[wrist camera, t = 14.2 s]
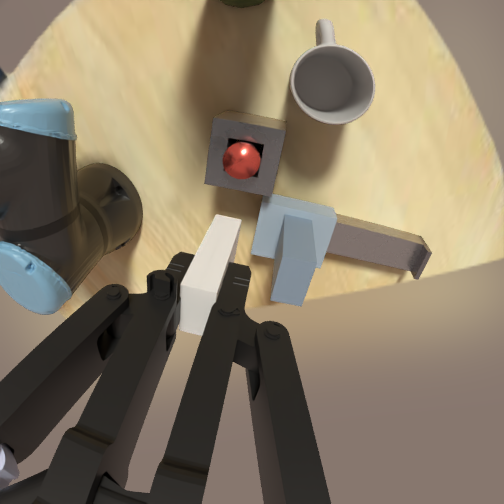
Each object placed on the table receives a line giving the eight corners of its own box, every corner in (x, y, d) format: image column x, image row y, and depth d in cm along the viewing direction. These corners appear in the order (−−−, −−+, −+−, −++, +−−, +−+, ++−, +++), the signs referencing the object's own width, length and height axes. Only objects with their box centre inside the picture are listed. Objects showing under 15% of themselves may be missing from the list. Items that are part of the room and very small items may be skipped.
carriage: (253, 240, 47) (240, 301, 35) (264, 191, 42) (253, 241, 31) (318, 254, 47) (325, 317, 35) (333, 207, 42) (349, 261, 31)
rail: (256, 227, 47) (253, 243, 43) (262, 197, 44) (259, 211, 40) (409, 261, 47) (418, 279, 43) (421, 236, 44) (431, 252, 40)
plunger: (233, 155, 41) (220, 175, 33) (238, 127, 39) (225, 140, 31) (262, 161, 41) (256, 182, 33) (268, 133, 39) (263, 147, 31)
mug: (355, 114, 36) (377, 126, 27) (291, 114, 38) (292, 126, 28) (350, 29, 30) (371, 13, 21) (284, 28, 31) (282, 11, 22)
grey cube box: (218, 165, 42) (204, 183, 36) (227, 110, 38) (213, 117, 31) (274, 176, 42) (271, 197, 36) (286, 121, 38) (285, 130, 31)
